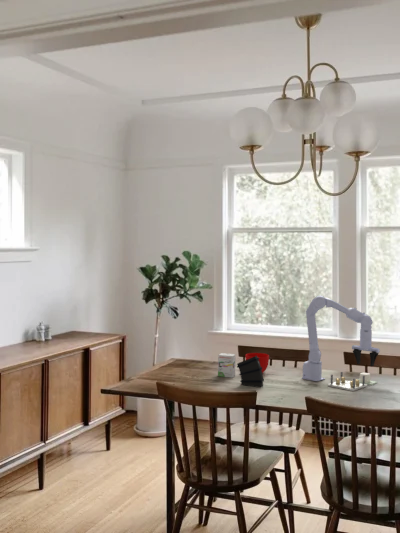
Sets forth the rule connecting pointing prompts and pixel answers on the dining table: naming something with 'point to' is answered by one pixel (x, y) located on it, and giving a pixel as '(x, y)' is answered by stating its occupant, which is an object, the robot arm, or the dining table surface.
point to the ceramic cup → (260, 359)
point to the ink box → (226, 365)
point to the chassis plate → (347, 383)
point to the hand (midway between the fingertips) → (365, 364)
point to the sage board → (366, 379)
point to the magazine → (251, 372)
